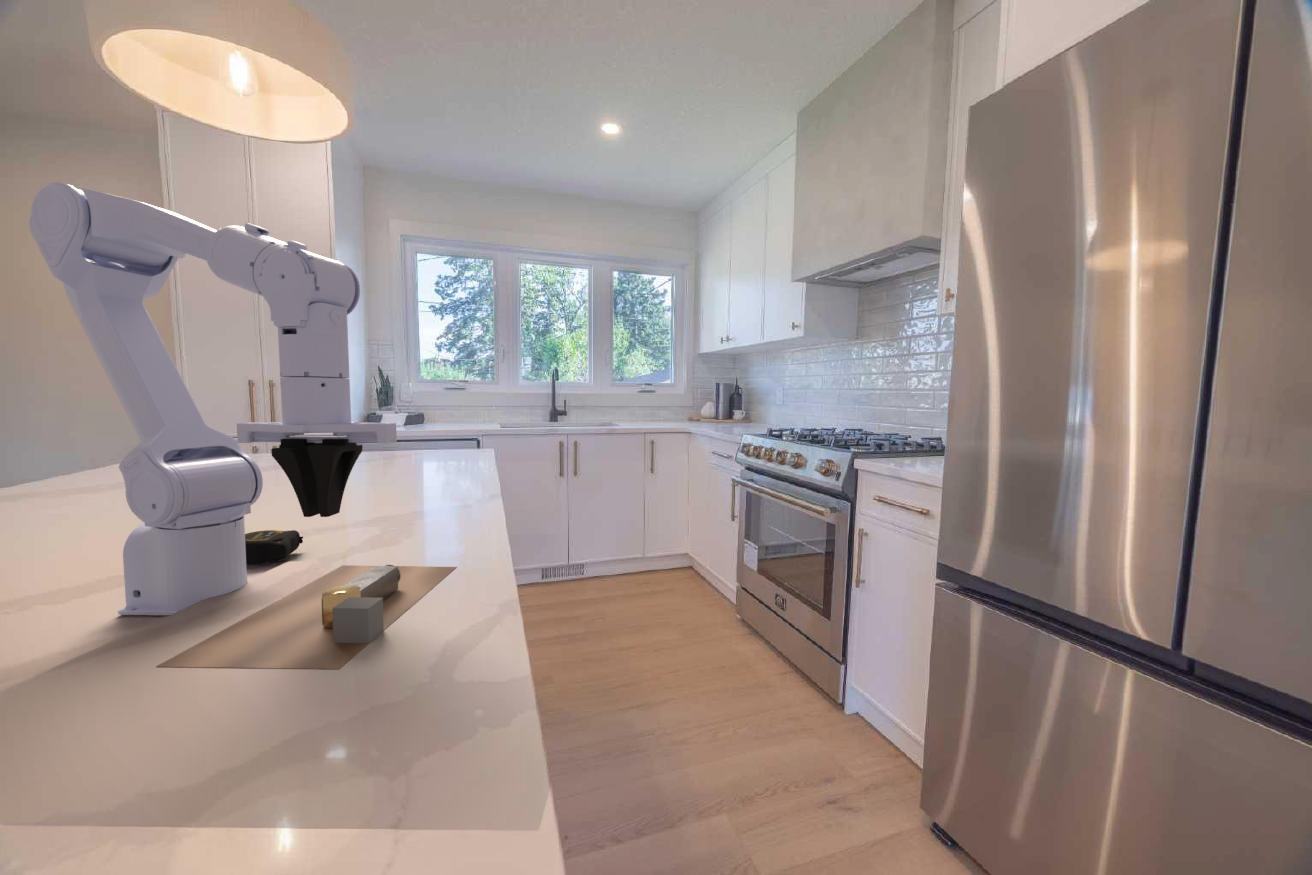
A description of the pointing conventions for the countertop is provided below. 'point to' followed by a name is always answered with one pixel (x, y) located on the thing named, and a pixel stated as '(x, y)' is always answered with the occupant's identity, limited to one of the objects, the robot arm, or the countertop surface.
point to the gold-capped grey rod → (361, 589)
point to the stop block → (357, 620)
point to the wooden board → (302, 626)
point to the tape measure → (270, 546)
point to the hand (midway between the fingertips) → (321, 514)
